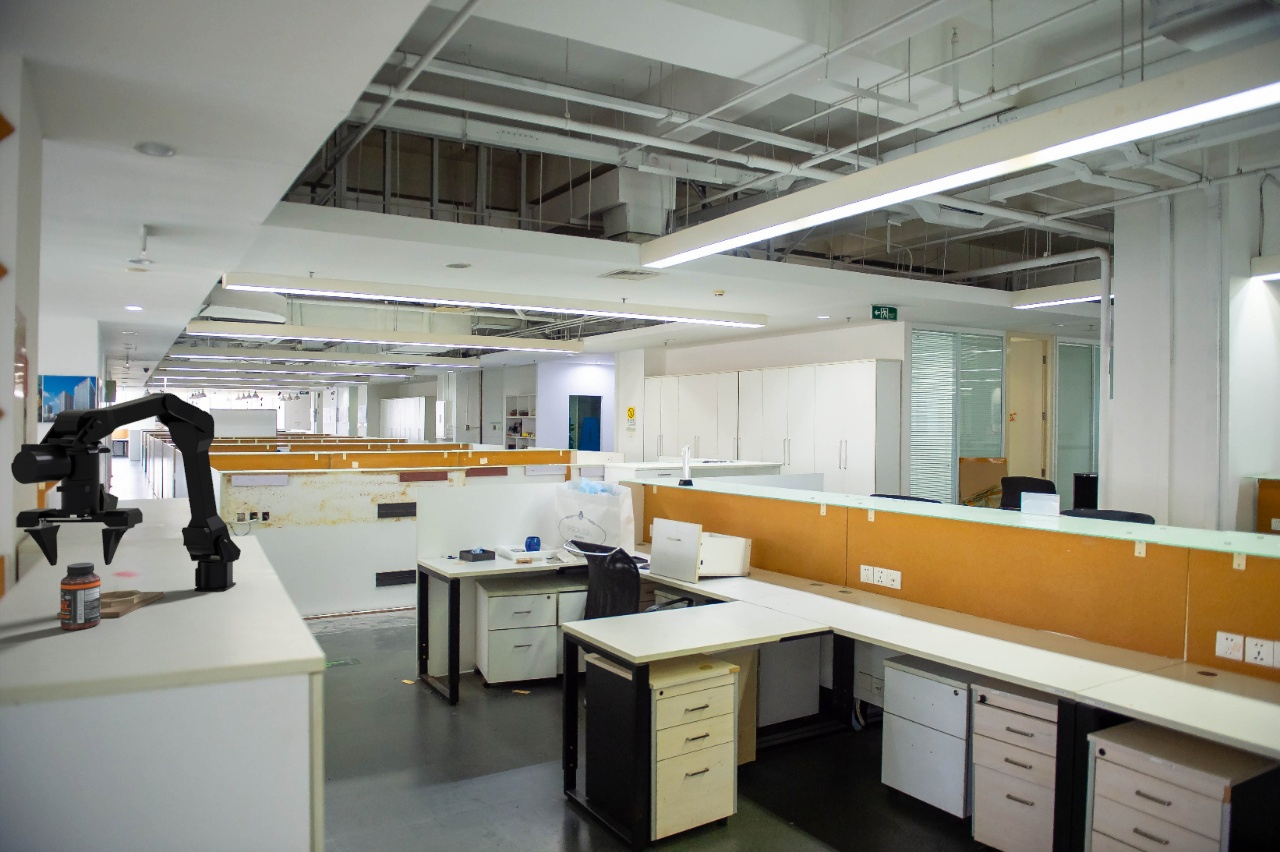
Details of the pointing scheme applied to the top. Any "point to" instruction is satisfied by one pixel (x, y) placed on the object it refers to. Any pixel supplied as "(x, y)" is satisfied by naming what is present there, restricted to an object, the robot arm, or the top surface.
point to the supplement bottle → (80, 597)
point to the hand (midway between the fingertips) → (81, 565)
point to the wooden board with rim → (124, 602)
